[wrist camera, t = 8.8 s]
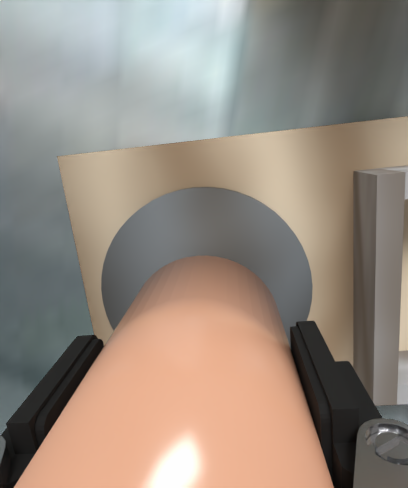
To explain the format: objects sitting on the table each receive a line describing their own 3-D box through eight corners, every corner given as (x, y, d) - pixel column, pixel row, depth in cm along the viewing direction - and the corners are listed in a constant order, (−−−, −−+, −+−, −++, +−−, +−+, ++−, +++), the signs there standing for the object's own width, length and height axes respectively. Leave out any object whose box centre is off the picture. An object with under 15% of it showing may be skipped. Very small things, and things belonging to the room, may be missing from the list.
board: (117, 401, 21) (94, 453, 17) (68, 155, 17) (26, 158, 14) (560, 378, 19) (639, 432, 15) (609, 93, 15) (728, 77, 11)
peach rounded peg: (120, 262, 14) (-131, 520, 4) (275, 249, 13) (402, 511, 4) (148, 425, 16) (21, 865, 6) (286, 419, 15) (387, 892, 5)
